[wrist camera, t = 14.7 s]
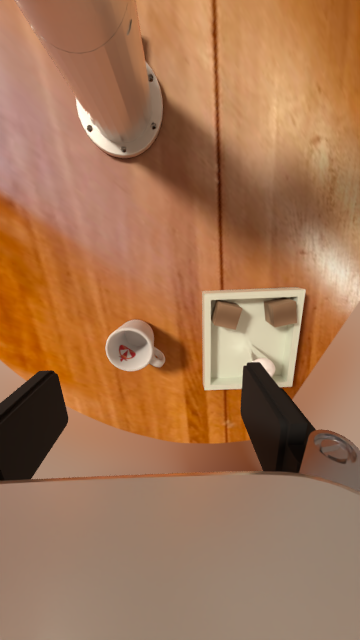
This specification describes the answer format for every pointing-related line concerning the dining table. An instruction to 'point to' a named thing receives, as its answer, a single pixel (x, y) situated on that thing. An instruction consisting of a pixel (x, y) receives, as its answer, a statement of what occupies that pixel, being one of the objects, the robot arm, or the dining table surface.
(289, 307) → the walnut block
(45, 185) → the dining table surface
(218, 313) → the walnut block
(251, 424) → the robot arm
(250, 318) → the tray
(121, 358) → the cup
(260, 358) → the milkshake
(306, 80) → the dining table surface
